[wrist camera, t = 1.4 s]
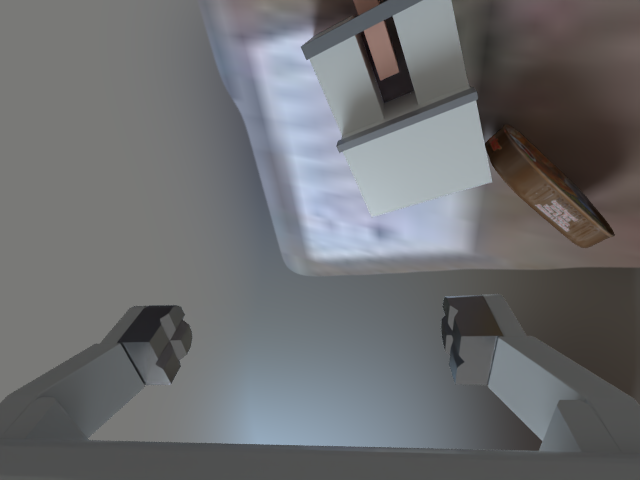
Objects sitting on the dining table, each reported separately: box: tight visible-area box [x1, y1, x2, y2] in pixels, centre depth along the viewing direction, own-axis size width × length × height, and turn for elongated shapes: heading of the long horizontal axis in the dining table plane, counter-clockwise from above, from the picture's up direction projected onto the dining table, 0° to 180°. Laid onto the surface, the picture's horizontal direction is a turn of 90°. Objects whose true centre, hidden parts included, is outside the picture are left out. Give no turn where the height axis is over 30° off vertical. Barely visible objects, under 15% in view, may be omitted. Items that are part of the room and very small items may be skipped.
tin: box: [485, 124, 615, 248], centre depth 32 cm, size 15×3×8 cm, turn 55°
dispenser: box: [301, 0, 492, 217], centre depth 30 cm, size 11×16×8 cm
